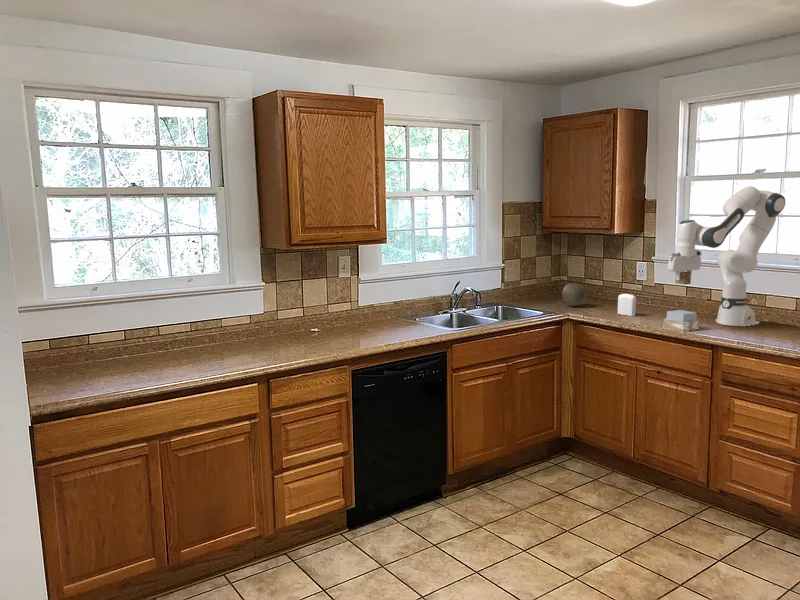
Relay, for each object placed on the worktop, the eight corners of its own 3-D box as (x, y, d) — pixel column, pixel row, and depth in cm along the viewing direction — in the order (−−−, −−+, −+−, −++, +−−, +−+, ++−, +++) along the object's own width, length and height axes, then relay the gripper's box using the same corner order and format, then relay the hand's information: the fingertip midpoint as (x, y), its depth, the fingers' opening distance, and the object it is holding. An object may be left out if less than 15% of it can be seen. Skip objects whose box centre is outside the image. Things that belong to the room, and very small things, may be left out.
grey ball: (564, 304, 408) (565, 281, 406) (587, 305, 402) (588, 282, 400) (559, 307, 395) (560, 283, 393) (583, 309, 389) (584, 284, 387)
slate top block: (679, 317, 336) (680, 309, 336) (696, 320, 327) (696, 312, 327) (666, 319, 332) (666, 311, 331) (683, 322, 323) (683, 314, 322)
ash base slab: (679, 326, 338) (679, 317, 337) (698, 330, 328) (699, 320, 327) (663, 328, 332) (663, 318, 332) (683, 332, 322) (683, 322, 321)
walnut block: (682, 282, 330) (682, 271, 329) (690, 283, 326) (691, 272, 325) (675, 283, 328) (676, 271, 327) (683, 284, 324) (684, 272, 323)
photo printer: (616, 314, 371) (617, 293, 370) (620, 313, 374) (621, 292, 372) (632, 316, 364) (633, 295, 362) (636, 316, 366) (637, 294, 364)
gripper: (676, 253, 317) (674, 281, 319) (703, 252, 326) (701, 279, 328) (665, 252, 323) (663, 279, 325) (693, 251, 332) (691, 277, 334)
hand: (683, 279), depth 327 cm, fingers closed on walnut block, 5 cm apart
